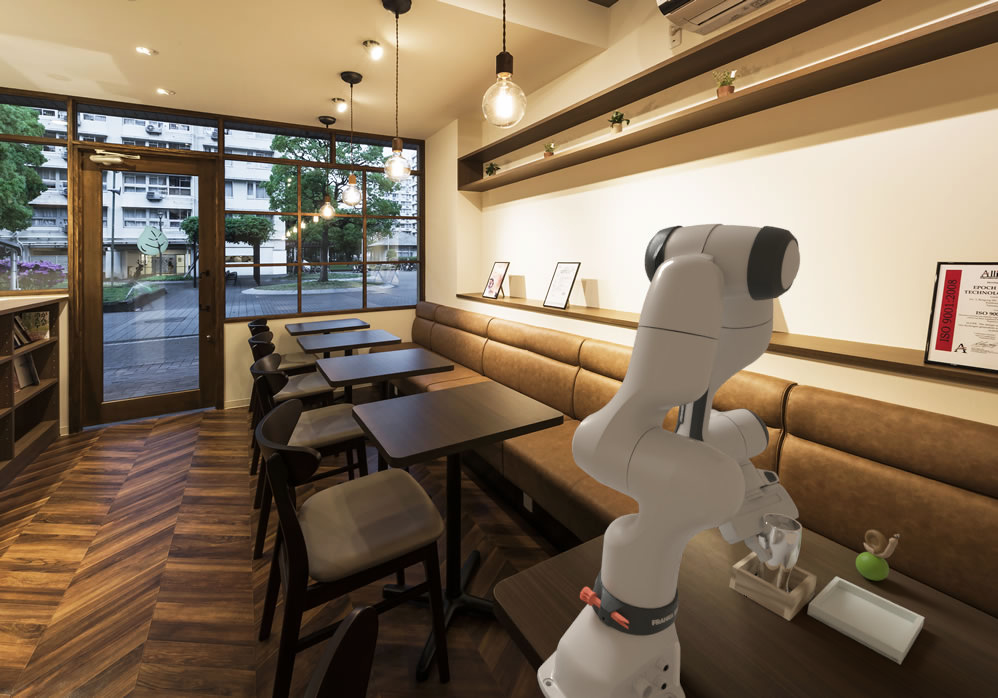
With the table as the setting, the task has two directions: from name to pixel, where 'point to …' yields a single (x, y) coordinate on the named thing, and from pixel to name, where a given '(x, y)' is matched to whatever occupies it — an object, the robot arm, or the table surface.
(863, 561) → the snail figurine
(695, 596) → the table surface
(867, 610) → the tray
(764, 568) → the beer glass
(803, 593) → the square frame
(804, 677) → the table surface
